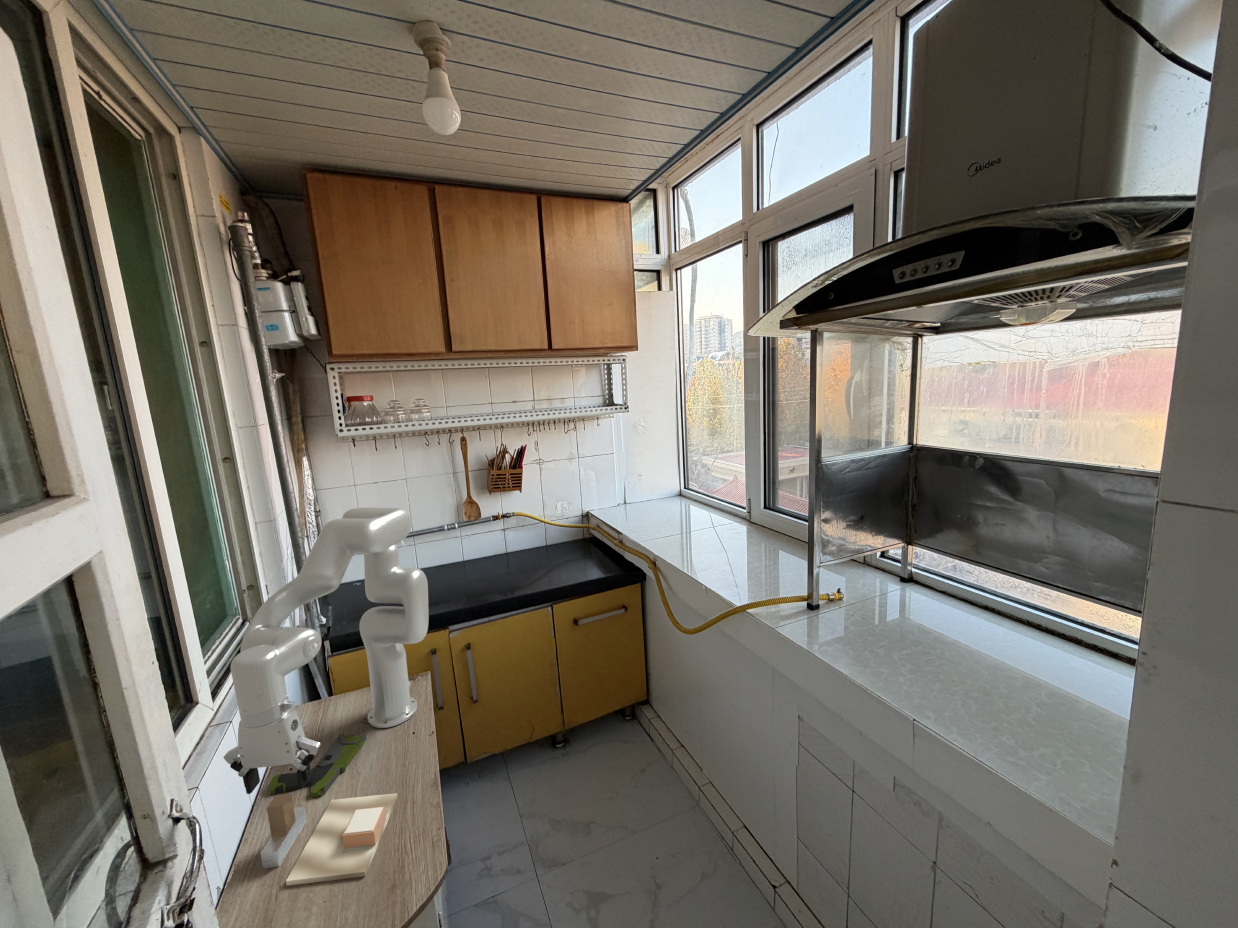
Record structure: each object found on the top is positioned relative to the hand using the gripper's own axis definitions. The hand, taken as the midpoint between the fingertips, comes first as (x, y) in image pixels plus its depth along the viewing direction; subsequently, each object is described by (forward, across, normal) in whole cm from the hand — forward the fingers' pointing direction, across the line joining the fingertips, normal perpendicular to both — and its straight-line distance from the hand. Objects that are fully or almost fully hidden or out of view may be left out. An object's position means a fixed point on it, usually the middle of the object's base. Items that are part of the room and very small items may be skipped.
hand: (279, 785), depth 98 cm
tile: (+12, -16, +2) cm, 20 cm away
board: (+13, -12, +1) cm, 17 cm away
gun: (+14, +4, -20) cm, 25 cm away
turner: (+13, 0, +1) cm, 13 cm away
